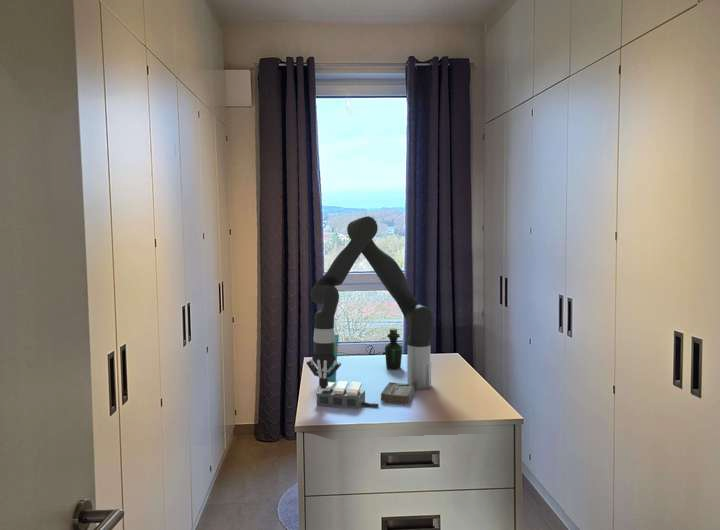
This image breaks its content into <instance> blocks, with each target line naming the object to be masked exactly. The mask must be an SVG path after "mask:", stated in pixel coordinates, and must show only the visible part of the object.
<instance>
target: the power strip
mask: <svg viewBox="0 0 720 530" xmlns="http://www.w3.org/2000/svg"><path fill="white" fill-rule="evenodd" d="M334 389H335V387H333V388H332V389H331V390H330V391H323V390H320V389H319V391H317V392H316V406H317V407H318V406H321V407H330V408H339V409H340V408H341V409H353V410H360V409H361V408H362V407H370V408H371V407H372V408H379V405H380V404H379V403H373V402H366V390H365V389H360V390H359V392H358V395H357V396H350V395H347V392H348V390H349V388H346V390H345V391H344V393H343V394H333V391H334Z"/></svg>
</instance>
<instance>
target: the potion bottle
mask: <svg viewBox="0 0 720 530" xmlns="http://www.w3.org/2000/svg"><path fill="white" fill-rule="evenodd" d="M386 337H387V338H388V339H389V343H387V344H386V345H385V347H384V353H385V366H386V369H388V370H393V371H396V370H399V369H401V366H402V365H401V364H402V355H403V354H402V353H403V345H401V344H400V343H398V342H397V341H398V339H399V338H400V334H399V333H398V329H397V328H389V333H388V334H387V336H386Z"/></svg>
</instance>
